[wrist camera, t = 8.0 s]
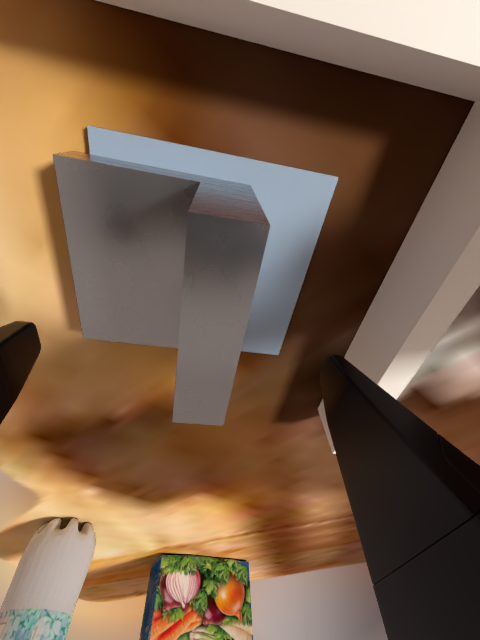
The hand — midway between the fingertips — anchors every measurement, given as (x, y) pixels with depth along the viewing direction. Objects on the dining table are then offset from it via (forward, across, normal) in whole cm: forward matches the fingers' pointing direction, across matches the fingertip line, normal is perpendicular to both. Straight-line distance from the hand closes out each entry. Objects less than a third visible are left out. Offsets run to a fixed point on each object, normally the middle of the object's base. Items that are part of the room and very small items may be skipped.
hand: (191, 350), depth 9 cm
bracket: (+6, +1, 0) cm, 6 cm away
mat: (+6, 0, 0) cm, 6 cm away
